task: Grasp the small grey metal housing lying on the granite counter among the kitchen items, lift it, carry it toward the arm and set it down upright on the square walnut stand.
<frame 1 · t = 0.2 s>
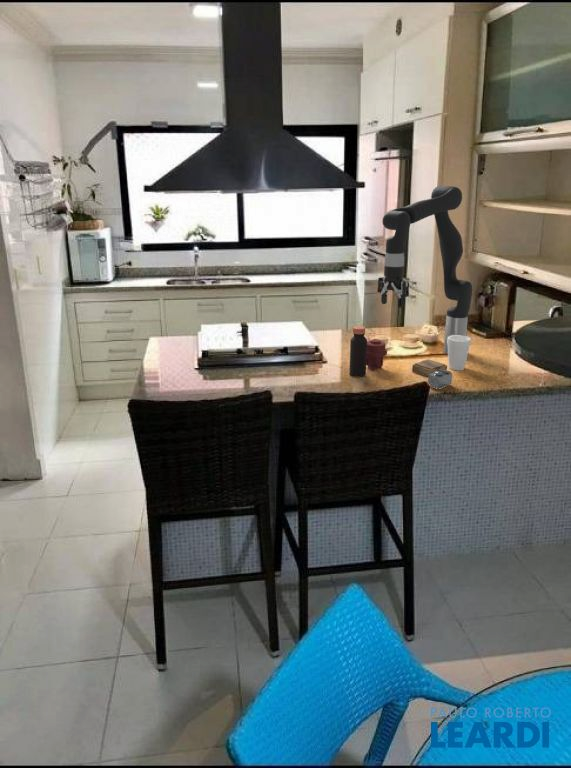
hand: (392, 305, 238), 29 cm above the countertop, fingers open, 8 cm apart
bottle: (357, 375, 248), on the countertop
housing: (439, 386, 235), on the countertop
foam cup: (456, 368, 255), on the countertop
stand: (429, 371, 250), on the countertop
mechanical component: (374, 368, 255), on the countertop
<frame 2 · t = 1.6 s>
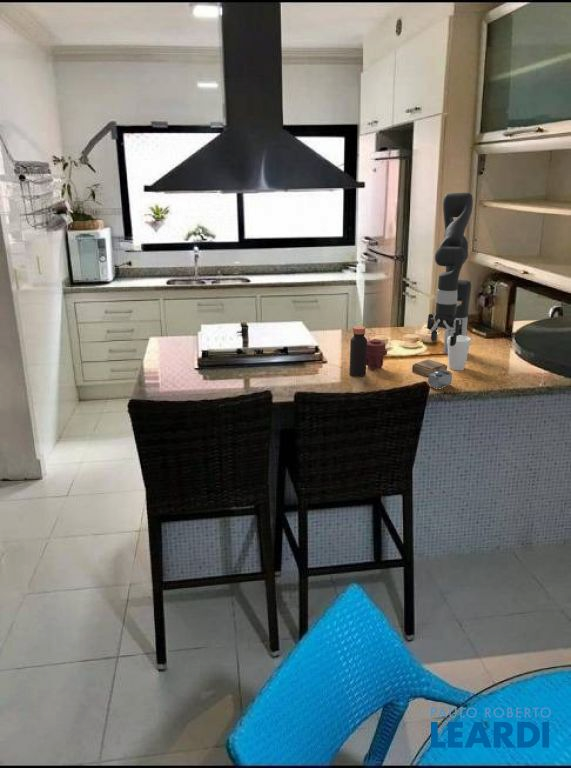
hand: (442, 343, 229), 17 cm above the countertop, fingers open, 8 cm apart
nothing on the countertop moved.
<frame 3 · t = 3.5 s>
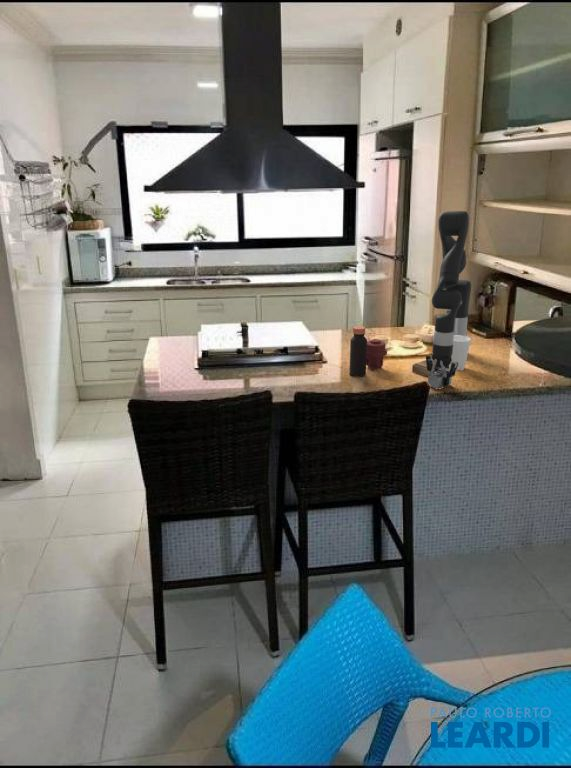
hand: (439, 383, 234), 1 cm above the countertop, fingers closed on housing, 5 cm apart
housing: (439, 385, 234), on the countertop, touching gripper
everything else where it was.
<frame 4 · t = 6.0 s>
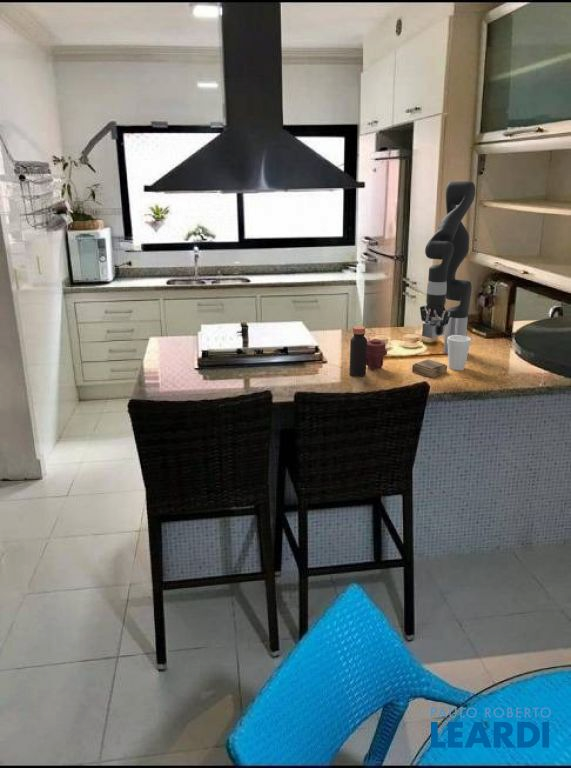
hand: (433, 333, 244), 17 cm above the countertop, fingers closed on housing, 5 cm apart
housing: (433, 335, 244), point 16 cm above the countertop, touching gripper
everything else where it was.
when the fingers open (6 cm above the countertop, at t = 8.7 s): housing drops 2 cm, resting on stand.
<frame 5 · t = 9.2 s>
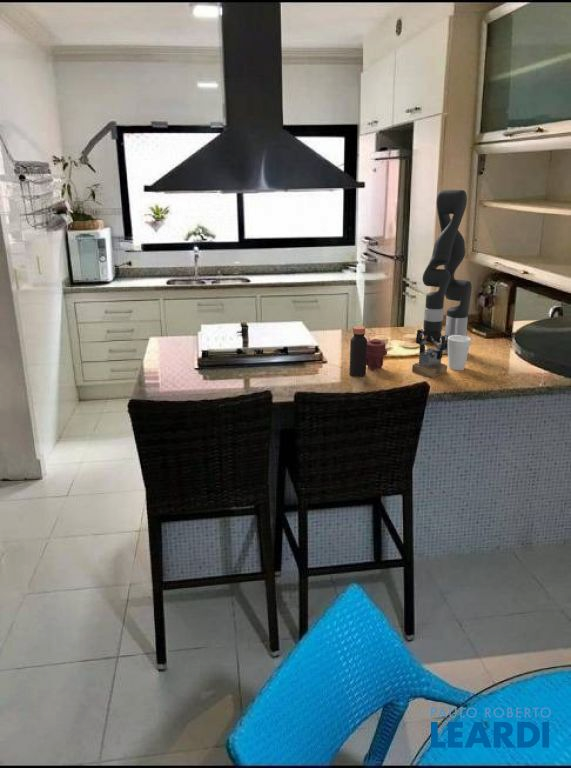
hand: (430, 356, 248), 7 cm above the countertop, fingers open, 8 cm apart
housing: (429, 364, 249), point 3 cm above the countertop, touching stand
everything else where it was.
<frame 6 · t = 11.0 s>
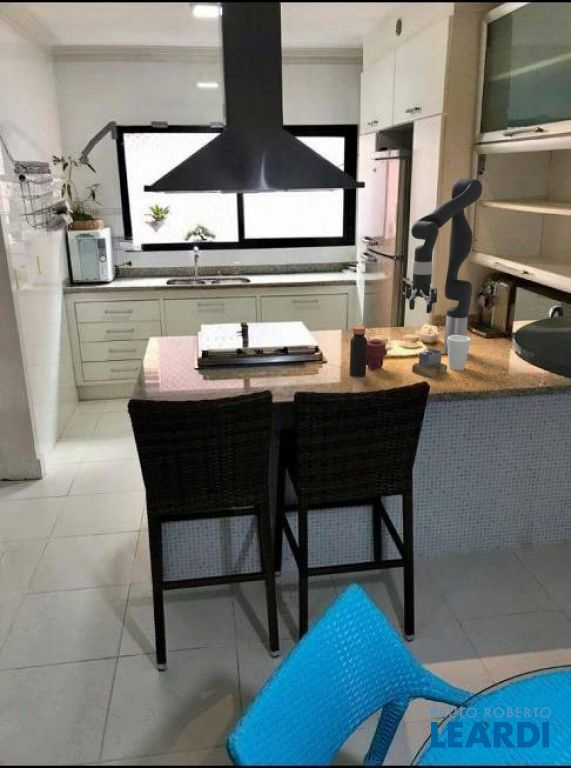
hand: (420, 311, 249), 24 cm above the countertop, fingers open, 8 cm apart
nothing on the countertop moved.
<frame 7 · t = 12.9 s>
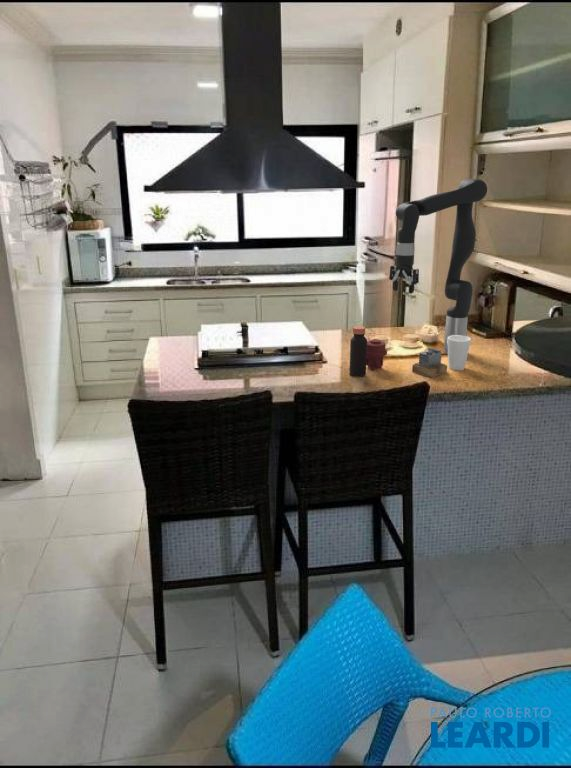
hand: (402, 291, 256), 30 cm above the countertop, fingers open, 8 cm apart
nothing on the countertop moved.
at the end: housing inside the target area on the stand (0.2 cm from its centre), point 3.5 cm above the stand's base; housing tilted 0°; the gripper is holding nothing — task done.
